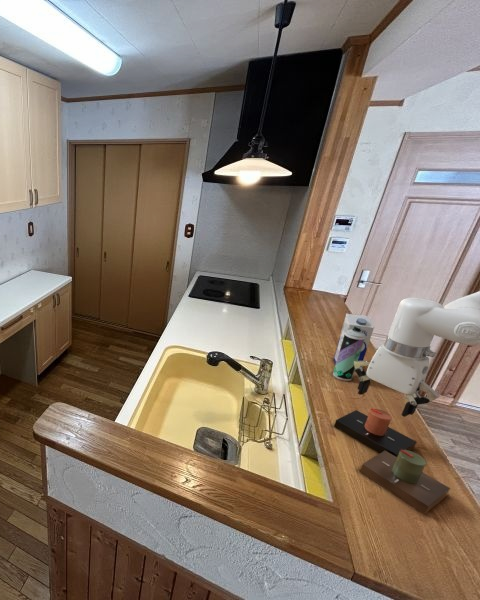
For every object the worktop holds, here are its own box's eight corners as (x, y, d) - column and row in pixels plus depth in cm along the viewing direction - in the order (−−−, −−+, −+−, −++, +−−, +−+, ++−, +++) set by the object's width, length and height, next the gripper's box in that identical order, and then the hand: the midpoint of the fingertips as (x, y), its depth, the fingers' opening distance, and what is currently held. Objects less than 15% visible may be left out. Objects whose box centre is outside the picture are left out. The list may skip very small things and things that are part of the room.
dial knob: (388, 432, 88) (395, 415, 86) (379, 438, 86) (386, 420, 84) (369, 422, 92) (375, 405, 90) (360, 427, 90) (366, 410, 88)
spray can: (331, 371, 121) (346, 322, 114) (350, 375, 118) (366, 325, 111) (333, 378, 117) (348, 328, 110) (352, 382, 114) (369, 331, 107)
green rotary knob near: (421, 479, 74) (430, 460, 72) (411, 486, 73) (420, 467, 71) (397, 465, 78) (405, 446, 76) (388, 471, 76) (395, 452, 74)
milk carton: (354, 362, 126) (369, 315, 119) (360, 371, 120) (376, 322, 113) (332, 359, 129) (346, 312, 122) (337, 367, 123) (351, 319, 116)
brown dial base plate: (446, 496, 73) (450, 487, 72) (424, 514, 69) (428, 505, 68) (381, 457, 83) (385, 449, 82) (359, 471, 79) (362, 463, 79)
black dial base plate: (413, 449, 86) (417, 441, 85) (393, 462, 82) (397, 454, 81) (353, 416, 98) (356, 409, 97) (333, 426, 94) (336, 419, 93)
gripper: (461, 360, 74) (433, 419, 80) (372, 330, 89) (354, 382, 95) (446, 367, 71) (418, 429, 77) (356, 335, 86) (339, 389, 92)
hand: (382, 403), depth 86 cm, fingers open, 9 cm apart
